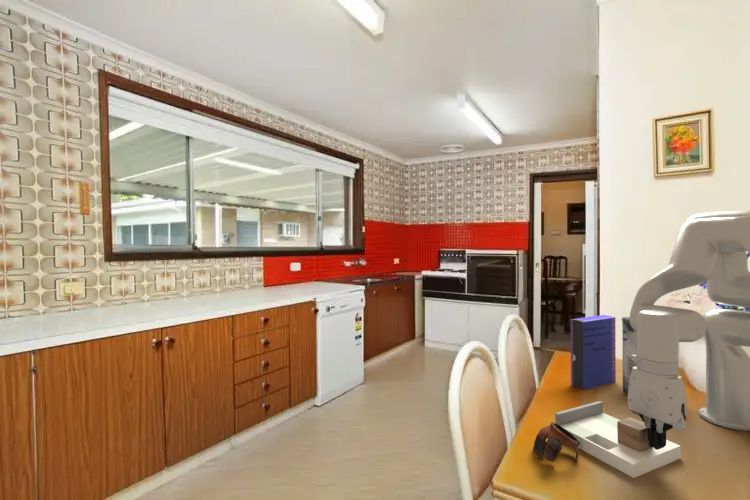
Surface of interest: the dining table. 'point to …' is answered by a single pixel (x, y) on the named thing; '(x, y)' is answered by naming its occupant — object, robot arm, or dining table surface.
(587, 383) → the blue rectangular box
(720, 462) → the dining table surface
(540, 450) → the brown curved piece
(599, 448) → the tray
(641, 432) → the block
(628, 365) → the juice carton
